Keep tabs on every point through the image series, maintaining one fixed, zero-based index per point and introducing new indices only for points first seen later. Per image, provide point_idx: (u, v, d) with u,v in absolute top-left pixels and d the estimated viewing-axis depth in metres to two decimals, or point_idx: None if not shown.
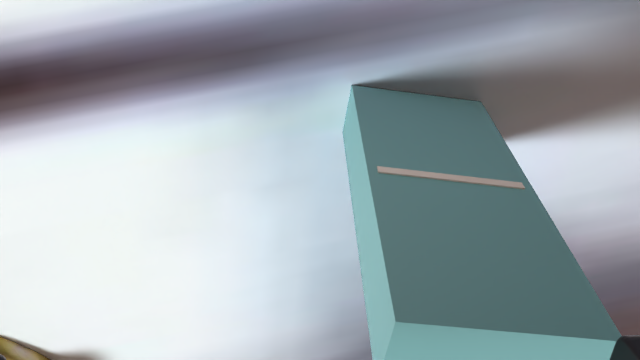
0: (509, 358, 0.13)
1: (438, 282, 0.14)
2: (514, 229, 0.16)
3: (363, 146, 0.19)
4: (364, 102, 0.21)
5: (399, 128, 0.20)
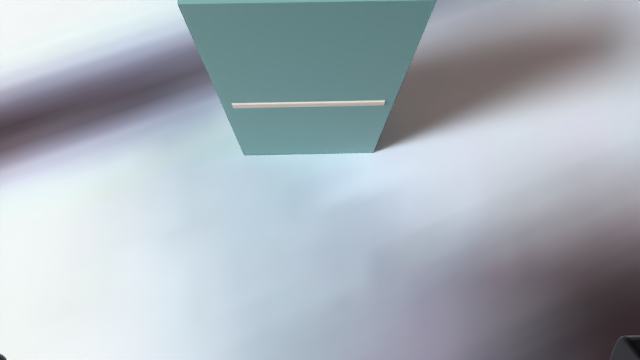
0: None
1: None
2: None
3: None
4: None
5: None
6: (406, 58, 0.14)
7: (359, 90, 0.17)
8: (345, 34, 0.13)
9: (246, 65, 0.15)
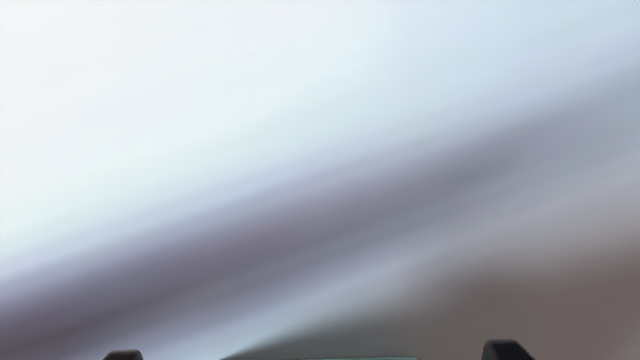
0: None
1: None
2: None
3: None
4: None
5: None
6: None
7: None
8: None
9: None
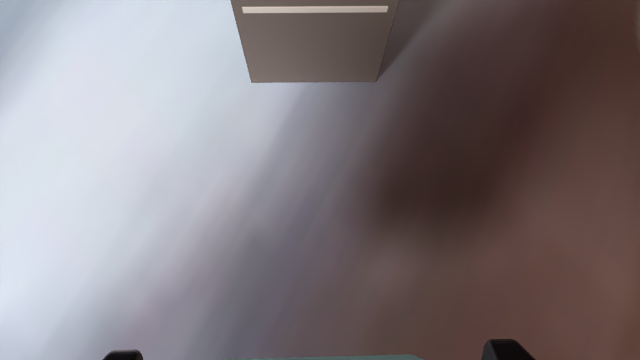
0: None
1: None
2: None
3: None
4: None
5: None
6: None
7: None
8: None
9: None
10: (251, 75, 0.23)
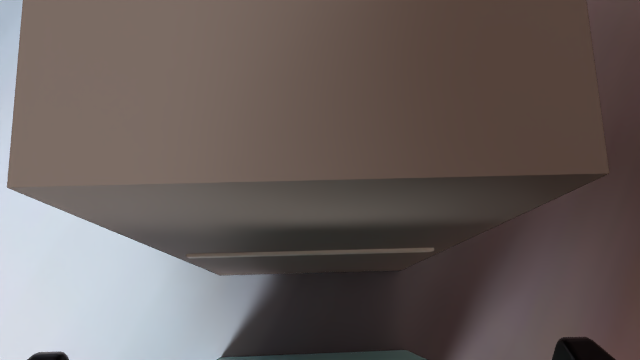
0: None
1: None
2: None
3: None
4: None
5: None
6: None
7: None
8: None
9: None
10: (218, 274, 0.16)
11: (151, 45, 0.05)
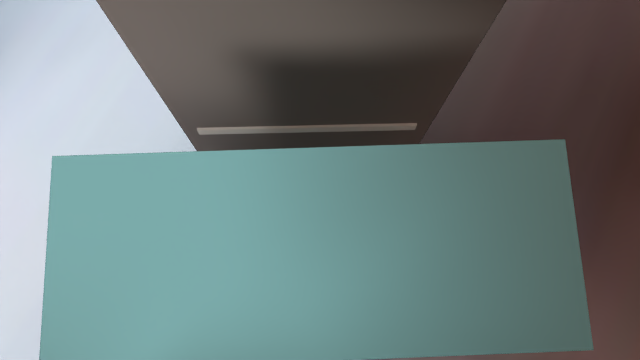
0: (334, 226, 0.06)
1: None
2: None
3: None
4: None
5: None
6: None
7: None
8: None
9: None
10: None
11: None
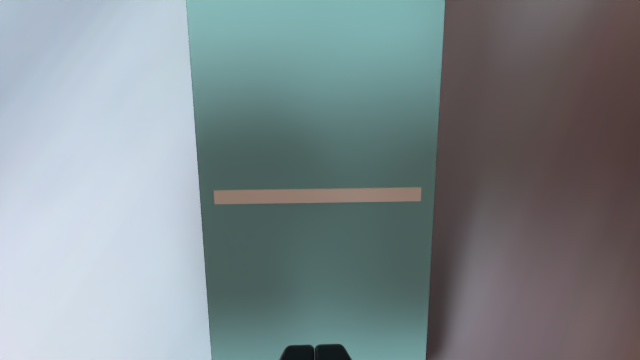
0: None
1: None
2: None
3: None
4: None
5: None
6: (435, 42, 0.12)
7: (384, 147, 0.13)
8: None
9: (240, 58, 0.12)
10: None
11: None
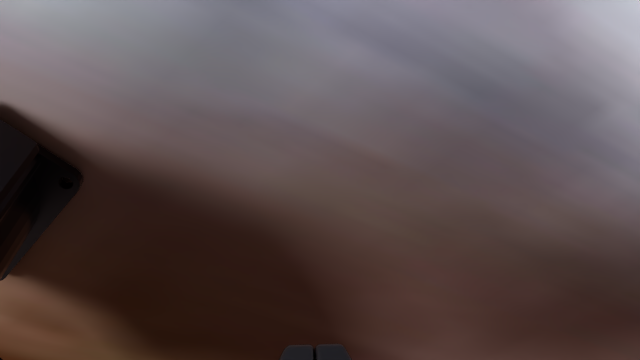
0: None
1: None
2: None
3: None
4: None
5: None
6: None
7: None
8: None
9: None
10: None
11: None
